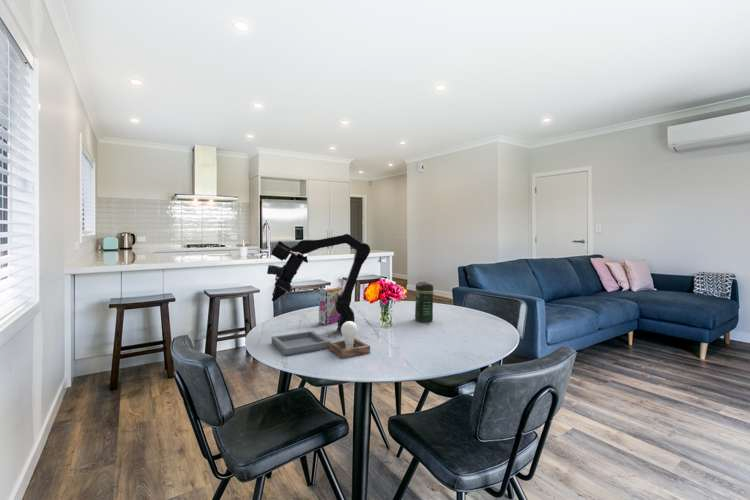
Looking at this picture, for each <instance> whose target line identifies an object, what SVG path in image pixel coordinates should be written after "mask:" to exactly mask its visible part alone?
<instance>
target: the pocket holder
mask: <svg viewBox="0 0 750 500" xmlns="http://www.w3.org/2000/svg"><path fill="white" fill-rule="evenodd" d="M328 349H329V350H330V351H331V352H332V353H334V354H336V355H337V356H339V357H340V358H341V359H345V358H349V357H350V358H351V357H355V356H360V355H366V354H370V353H371V346H370V345H369V344H367V343H365V342H363V341H361V340H360V339H357V338H356V337H355V338H354V344H353V348H350V349H346V344H345V339H343V340H337V341H330V343H329V348H328Z"/></svg>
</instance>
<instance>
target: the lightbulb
mask: <svg viewBox="0 0 750 500" xmlns="http://www.w3.org/2000/svg"><path fill="white" fill-rule="evenodd" d="M358 331H359V330H358V325H357V324H356V323H355V321H354V322H352V321H347V322H345V323H344V324H343V325H342V327H341V331H340V333H341V335H342V336H343V340H345V344H346V348H345V349H350V348H354V346H353V344H354V338H356V336H357V334H358Z"/></svg>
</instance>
